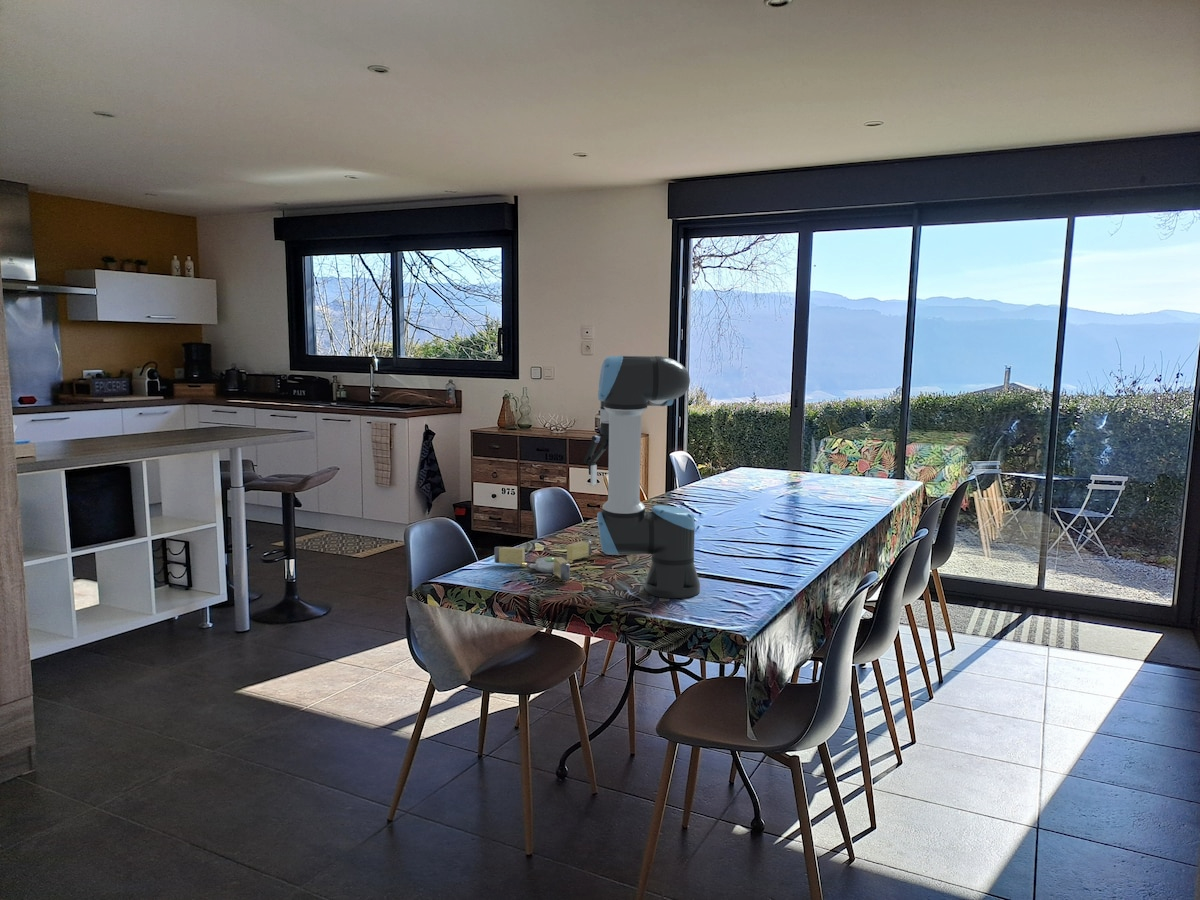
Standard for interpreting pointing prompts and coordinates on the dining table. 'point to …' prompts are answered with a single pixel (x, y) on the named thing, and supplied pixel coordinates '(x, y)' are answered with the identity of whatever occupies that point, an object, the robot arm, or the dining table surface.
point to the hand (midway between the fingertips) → (611, 486)
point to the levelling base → (544, 565)
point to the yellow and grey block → (510, 555)
